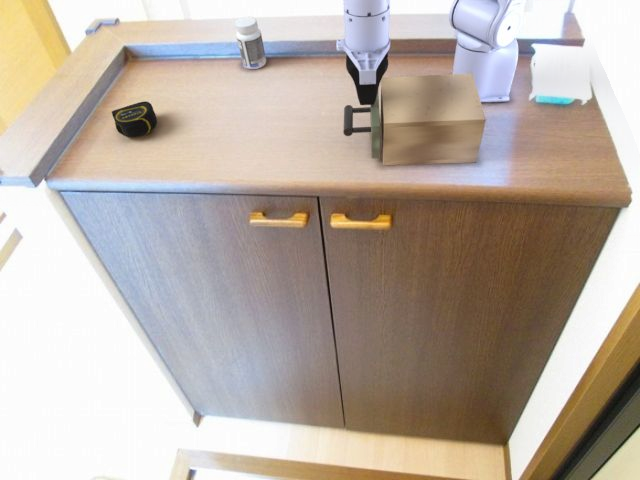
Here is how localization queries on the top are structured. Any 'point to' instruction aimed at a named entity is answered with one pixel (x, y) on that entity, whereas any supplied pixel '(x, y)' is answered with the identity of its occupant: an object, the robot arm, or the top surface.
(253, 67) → the pill bottle
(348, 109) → the drawer
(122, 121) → the tape measure
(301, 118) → the top surface
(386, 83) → the cabinet
